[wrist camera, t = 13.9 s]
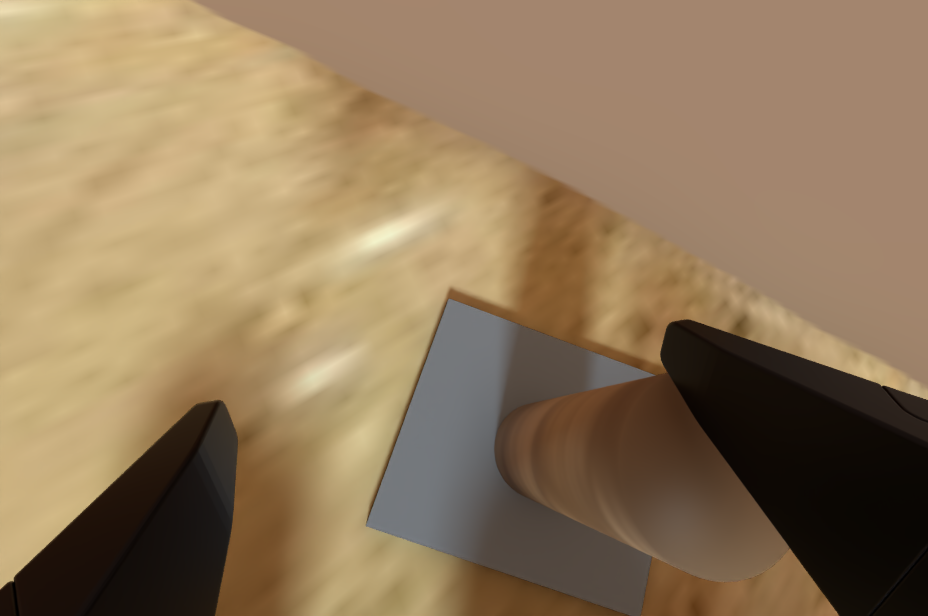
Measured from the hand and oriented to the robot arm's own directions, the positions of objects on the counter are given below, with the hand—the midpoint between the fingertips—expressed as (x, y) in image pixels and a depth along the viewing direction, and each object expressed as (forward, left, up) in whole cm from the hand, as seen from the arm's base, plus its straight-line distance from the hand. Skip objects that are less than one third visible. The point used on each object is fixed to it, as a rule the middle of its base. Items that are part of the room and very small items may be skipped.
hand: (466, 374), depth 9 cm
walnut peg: (0, -6, -13) cm, 14 cm away
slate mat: (0, -6, -14) cm, 15 cm away
